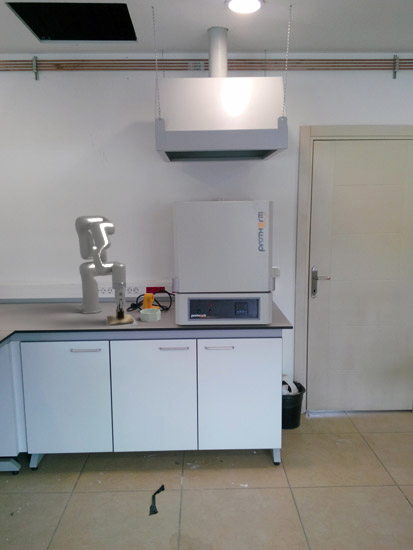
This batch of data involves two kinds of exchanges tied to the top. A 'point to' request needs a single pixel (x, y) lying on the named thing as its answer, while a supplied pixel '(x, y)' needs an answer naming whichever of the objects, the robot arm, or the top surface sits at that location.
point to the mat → (120, 323)
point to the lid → (119, 319)
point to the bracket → (149, 301)
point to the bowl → (150, 315)
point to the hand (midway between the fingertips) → (120, 316)
